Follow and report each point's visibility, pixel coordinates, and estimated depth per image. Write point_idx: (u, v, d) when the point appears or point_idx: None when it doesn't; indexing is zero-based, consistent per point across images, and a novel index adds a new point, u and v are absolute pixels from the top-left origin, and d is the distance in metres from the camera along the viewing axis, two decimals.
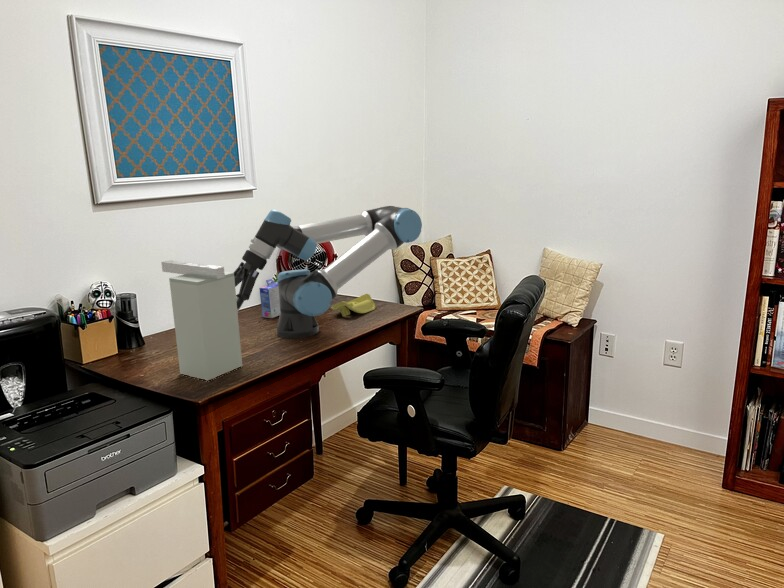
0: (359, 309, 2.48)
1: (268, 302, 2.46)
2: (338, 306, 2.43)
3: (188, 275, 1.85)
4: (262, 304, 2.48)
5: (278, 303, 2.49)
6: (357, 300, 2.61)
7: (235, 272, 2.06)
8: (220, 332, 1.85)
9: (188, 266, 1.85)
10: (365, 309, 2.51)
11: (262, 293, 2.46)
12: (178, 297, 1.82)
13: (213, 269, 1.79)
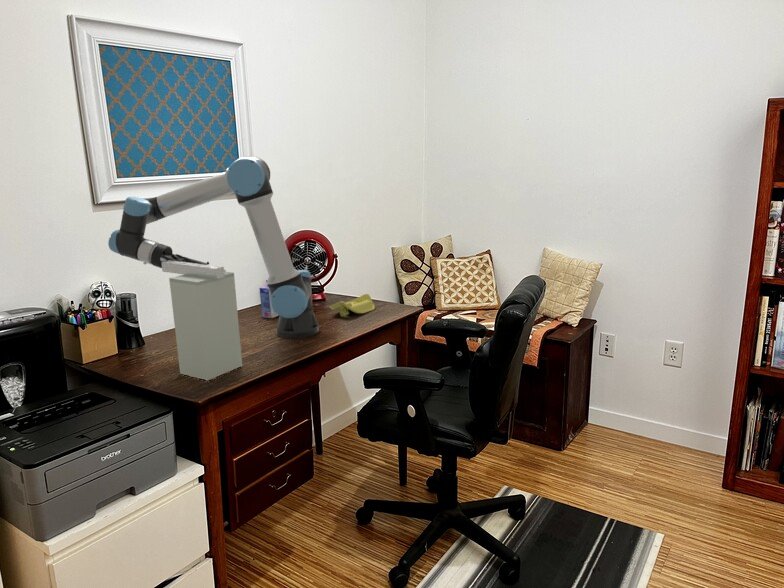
0: (358, 309, 2.48)
1: (268, 302, 2.46)
2: (336, 306, 2.43)
3: (188, 275, 1.85)
4: (262, 304, 2.48)
5: None
6: (357, 300, 2.61)
7: None
8: (220, 332, 1.85)
9: (188, 266, 1.85)
10: (364, 309, 2.51)
11: (262, 293, 2.46)
12: (178, 297, 1.82)
13: (213, 269, 1.79)
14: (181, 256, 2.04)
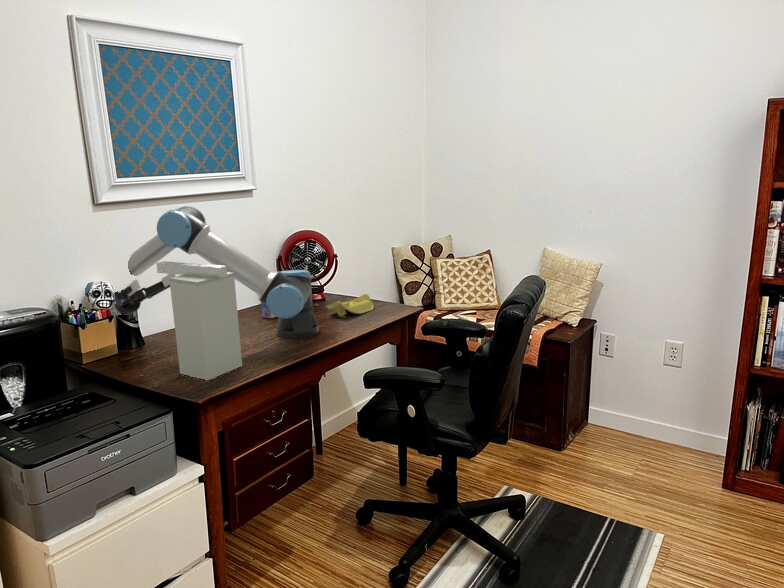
0: (355, 309, 2.48)
1: None
2: (333, 306, 2.44)
3: (188, 275, 1.85)
4: (262, 304, 2.48)
5: None
6: (356, 300, 2.60)
7: (156, 293, 2.09)
8: (220, 332, 1.85)
9: (187, 266, 1.85)
10: (362, 309, 2.51)
11: None
12: (178, 297, 1.82)
13: (216, 268, 1.80)
14: (138, 290, 2.06)
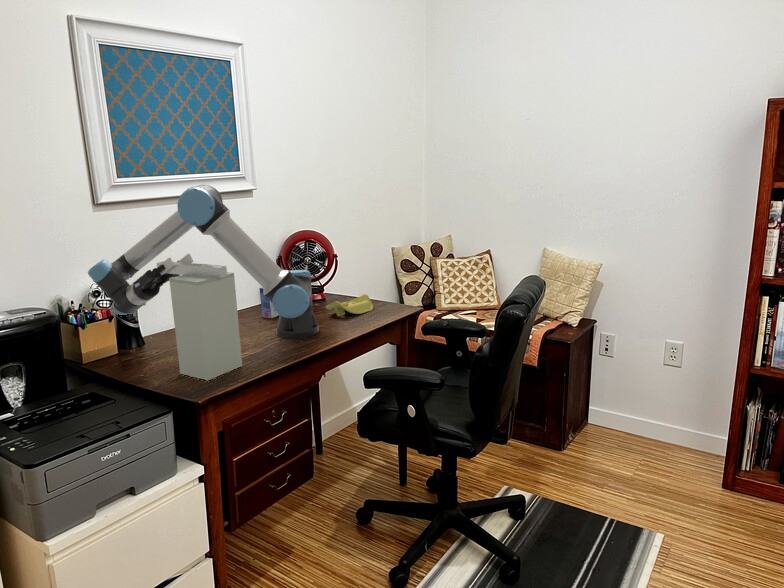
0: (354, 309, 2.47)
1: (268, 302, 2.46)
2: (332, 306, 2.43)
3: (188, 275, 1.85)
4: (262, 304, 2.48)
5: None
6: (356, 300, 2.60)
7: None
8: (220, 332, 1.85)
9: (188, 266, 1.85)
10: (361, 310, 2.50)
11: (262, 293, 2.46)
12: (178, 297, 1.82)
13: (216, 268, 1.80)
14: None
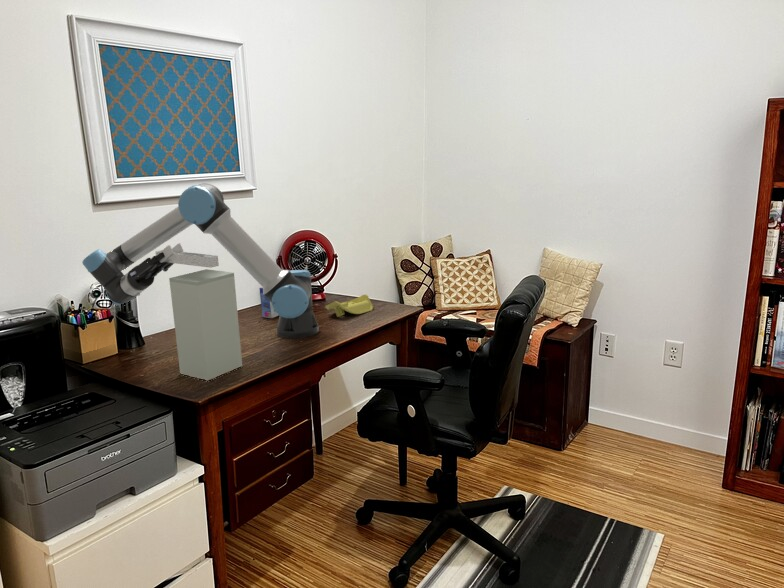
0: (354, 310, 2.47)
1: (268, 302, 2.46)
2: (331, 306, 2.43)
3: (188, 275, 1.85)
4: (262, 304, 2.48)
5: None
6: (356, 301, 2.60)
7: (167, 267, 1.99)
8: (220, 332, 1.85)
9: (182, 255, 1.85)
10: (361, 310, 2.50)
11: (262, 293, 2.46)
12: (178, 297, 1.82)
13: (207, 258, 1.79)
14: None
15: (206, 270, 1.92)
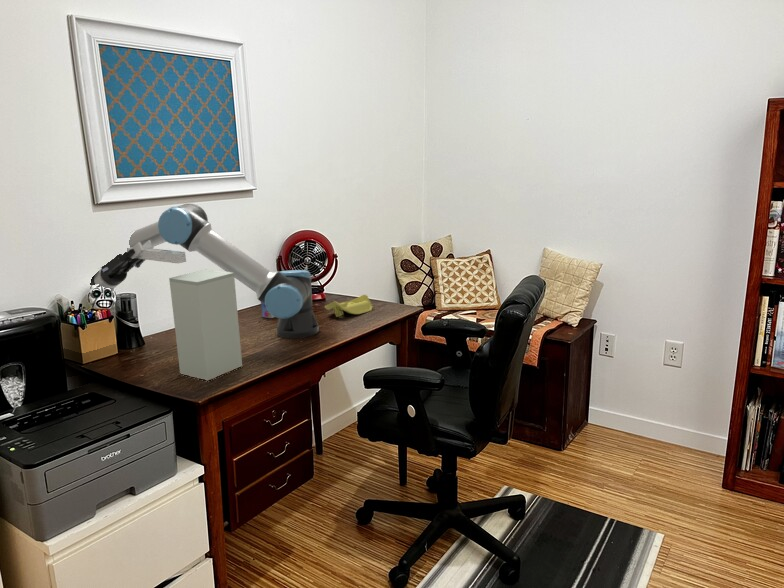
0: (353, 310, 2.47)
1: None
2: (330, 306, 2.43)
3: (188, 275, 1.85)
4: (262, 304, 2.48)
5: None
6: (356, 301, 2.60)
7: (139, 263, 2.06)
8: (220, 332, 1.85)
9: (151, 251, 1.92)
10: (360, 310, 2.50)
11: None
12: (178, 297, 1.82)
13: (174, 254, 1.86)
14: None
15: (206, 270, 1.92)
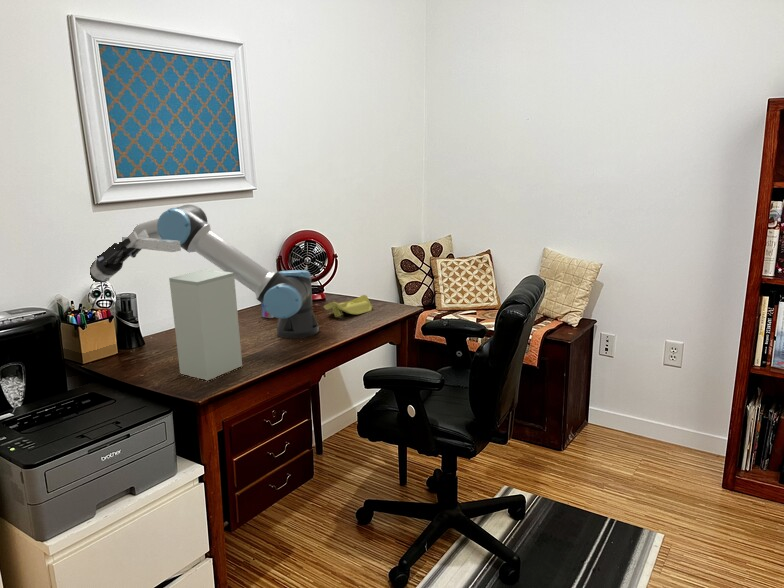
0: (352, 310, 2.47)
1: None
2: (329, 306, 2.43)
3: (188, 275, 1.85)
4: (262, 304, 2.48)
5: None
6: (355, 301, 2.59)
7: (134, 253, 2.07)
8: (220, 332, 1.85)
9: (146, 241, 1.93)
10: (359, 310, 2.50)
11: None
12: (178, 297, 1.82)
13: (169, 243, 1.87)
14: None
15: (206, 270, 1.92)
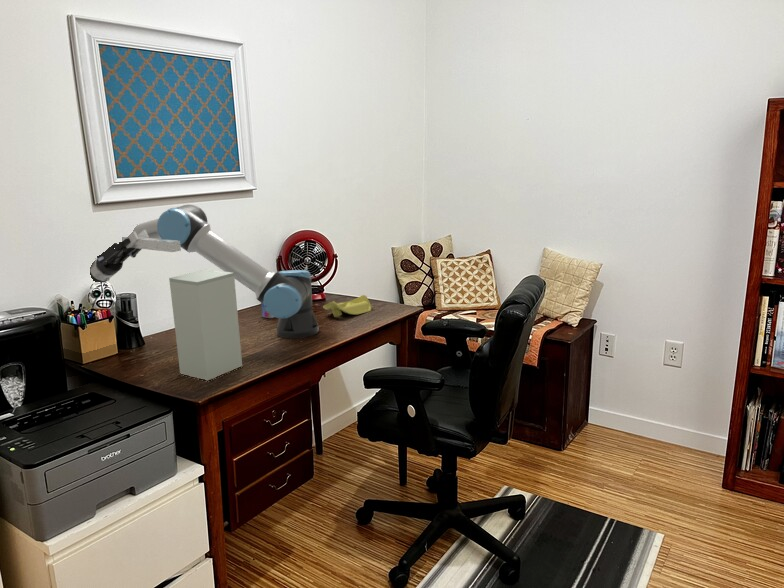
0: (351, 310, 2.46)
1: None
2: (328, 306, 2.43)
3: (188, 275, 1.85)
4: (262, 304, 2.48)
5: None
6: (355, 301, 2.59)
7: (134, 253, 2.07)
8: (220, 332, 1.85)
9: (146, 241, 1.93)
10: (358, 310, 2.49)
11: None
12: (178, 297, 1.82)
13: (169, 243, 1.87)
14: None
15: (206, 270, 1.92)
